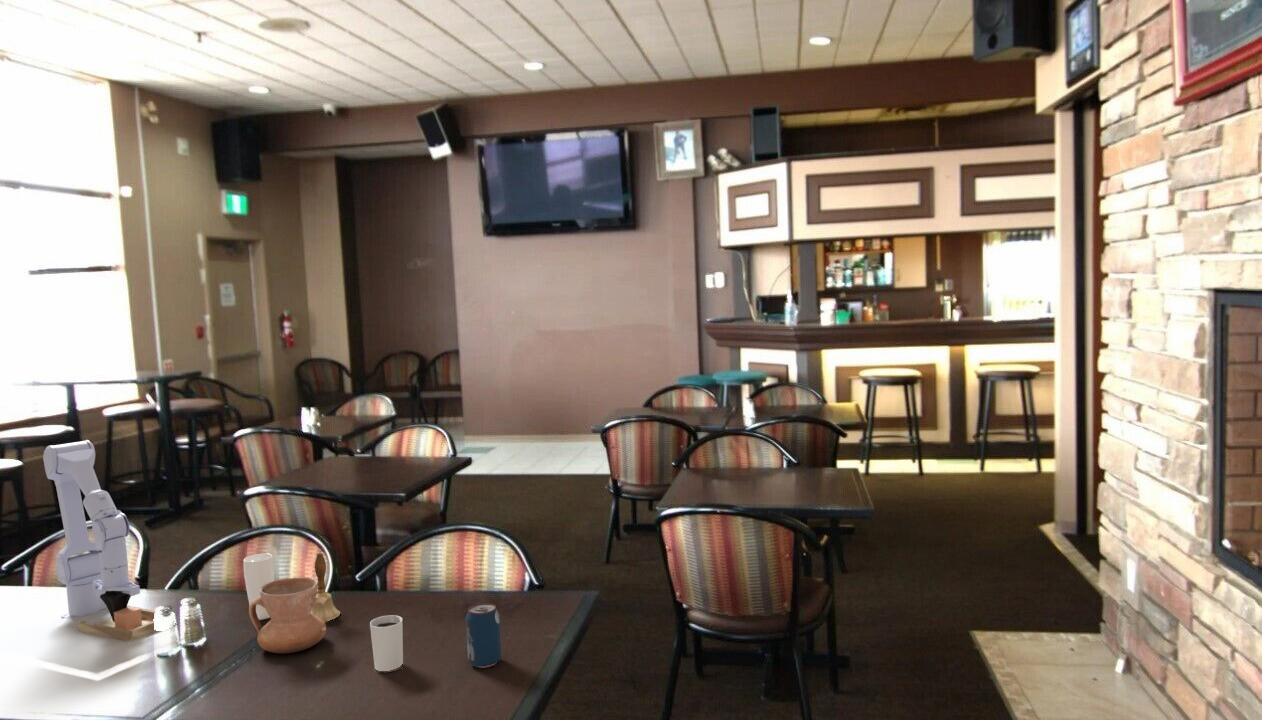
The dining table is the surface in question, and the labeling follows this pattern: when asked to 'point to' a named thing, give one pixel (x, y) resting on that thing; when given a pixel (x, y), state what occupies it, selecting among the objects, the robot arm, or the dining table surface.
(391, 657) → the white cup
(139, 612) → the terracotta block
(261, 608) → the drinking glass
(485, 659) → the soda can
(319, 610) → the hand bell
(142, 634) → the shallow wooden tray
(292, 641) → the ceramic jug
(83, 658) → the dining table surface
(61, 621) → the dining table surface
